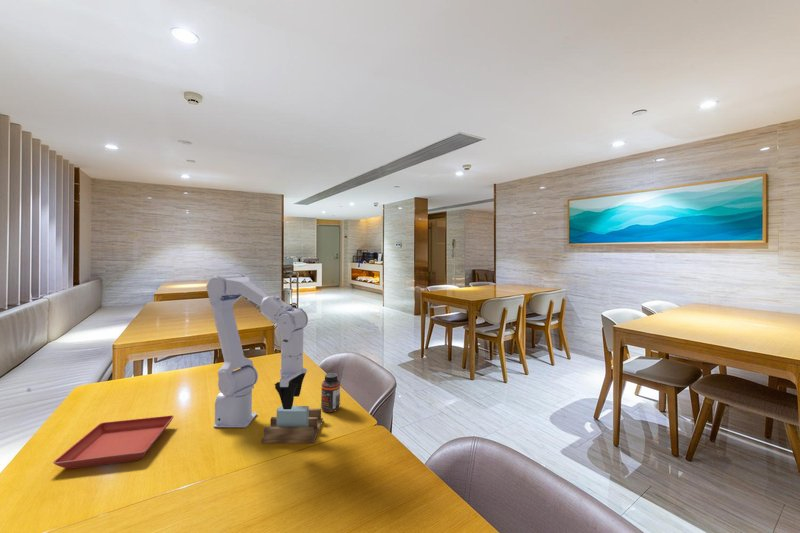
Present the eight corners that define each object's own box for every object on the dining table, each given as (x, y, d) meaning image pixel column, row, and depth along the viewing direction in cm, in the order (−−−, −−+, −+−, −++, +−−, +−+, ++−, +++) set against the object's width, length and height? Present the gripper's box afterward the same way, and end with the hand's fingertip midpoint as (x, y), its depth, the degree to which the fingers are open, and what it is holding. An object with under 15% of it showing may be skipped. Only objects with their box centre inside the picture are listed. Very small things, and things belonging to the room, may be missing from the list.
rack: (261, 443, 88) (261, 429, 88) (276, 420, 100) (276, 408, 100) (314, 443, 89) (314, 429, 88) (322, 420, 100) (323, 408, 100)
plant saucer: (51, 476, 74) (50, 462, 74) (100, 433, 91) (100, 421, 91) (145, 465, 79) (144, 451, 79) (175, 426, 96) (175, 414, 96)
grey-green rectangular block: (276, 436, 90) (276, 411, 90) (280, 430, 93) (280, 405, 93) (306, 436, 90) (306, 411, 90) (308, 430, 93) (308, 406, 93)
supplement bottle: (317, 410, 107) (317, 375, 106) (329, 403, 112) (329, 370, 112) (331, 414, 104) (332, 379, 103) (343, 407, 109) (343, 373, 109)
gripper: (300, 362, 83) (299, 415, 84) (312, 346, 98) (312, 391, 99) (271, 362, 83) (271, 415, 84) (288, 345, 98) (288, 390, 98)
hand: (291, 402), depth 91 cm, fingers open, 7 cm apart
